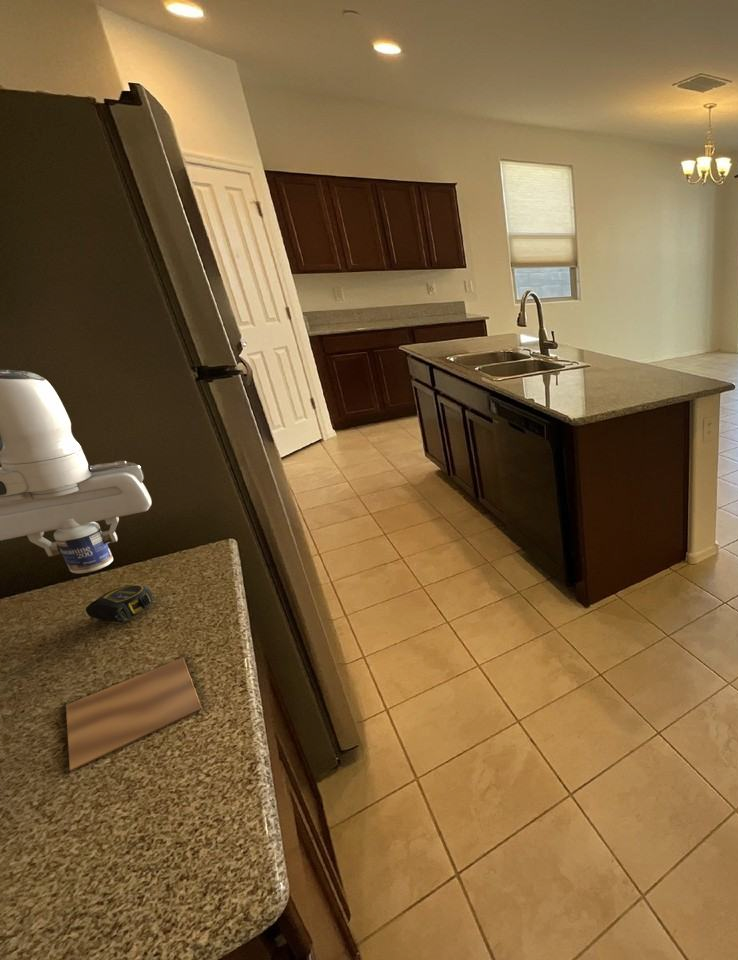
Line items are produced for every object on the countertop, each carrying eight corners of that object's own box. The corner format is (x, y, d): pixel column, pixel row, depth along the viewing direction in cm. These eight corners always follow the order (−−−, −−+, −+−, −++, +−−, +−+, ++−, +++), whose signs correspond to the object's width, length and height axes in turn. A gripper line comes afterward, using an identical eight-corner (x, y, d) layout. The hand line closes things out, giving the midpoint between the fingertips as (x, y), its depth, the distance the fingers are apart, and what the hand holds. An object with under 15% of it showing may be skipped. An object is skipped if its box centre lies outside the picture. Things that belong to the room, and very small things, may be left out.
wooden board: (66, 706, 68) (65, 704, 68) (183, 658, 76) (183, 657, 76) (70, 771, 59) (69, 769, 59) (202, 709, 67) (201, 708, 67)
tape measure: (89, 623, 84) (79, 604, 82) (136, 598, 90) (127, 580, 88) (121, 629, 82) (111, 609, 81) (166, 603, 88) (158, 585, 87)
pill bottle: (61, 576, 87) (36, 524, 83) (85, 560, 91) (62, 510, 88) (100, 572, 88) (77, 520, 84) (121, 556, 93) (100, 507, 89)
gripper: (138, 453, 91) (164, 523, 97) (-42, 480, 79) (-1, 559, 84) (136, 463, 87) (164, 536, 92) (-55, 493, 75) (-11, 575, 80)
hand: (84, 547), depth 88 cm, fingers closed on pill bottle, 5 cm apart
